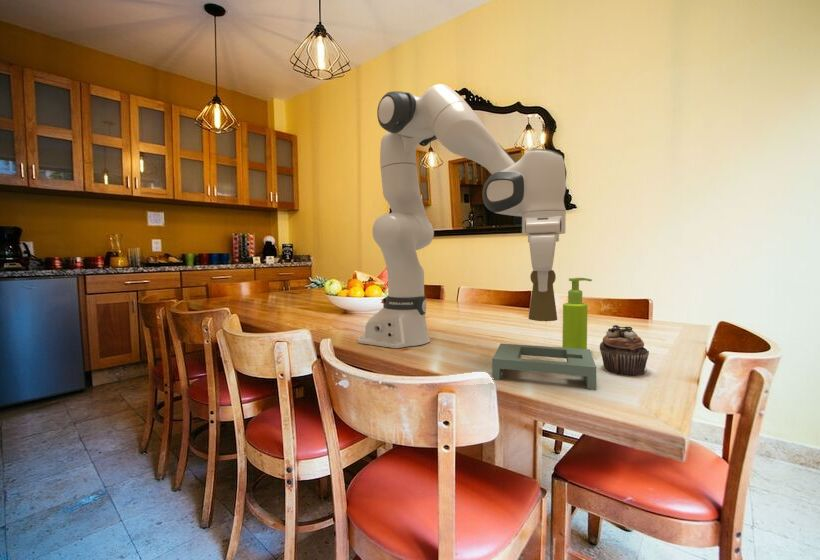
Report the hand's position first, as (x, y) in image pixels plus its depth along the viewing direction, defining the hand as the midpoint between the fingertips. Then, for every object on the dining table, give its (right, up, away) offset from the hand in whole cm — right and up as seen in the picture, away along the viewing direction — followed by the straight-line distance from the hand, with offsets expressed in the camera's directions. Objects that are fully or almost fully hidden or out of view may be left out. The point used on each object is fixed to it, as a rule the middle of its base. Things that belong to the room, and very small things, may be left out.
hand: (543, 290), depth 82 cm
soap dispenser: (+15, -17, +17) cm, 29 cm away
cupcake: (+19, -18, +3) cm, 27 cm away
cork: (0, -7, +1) cm, 7 cm away
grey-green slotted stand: (0, -19, +1) cm, 19 cm away
